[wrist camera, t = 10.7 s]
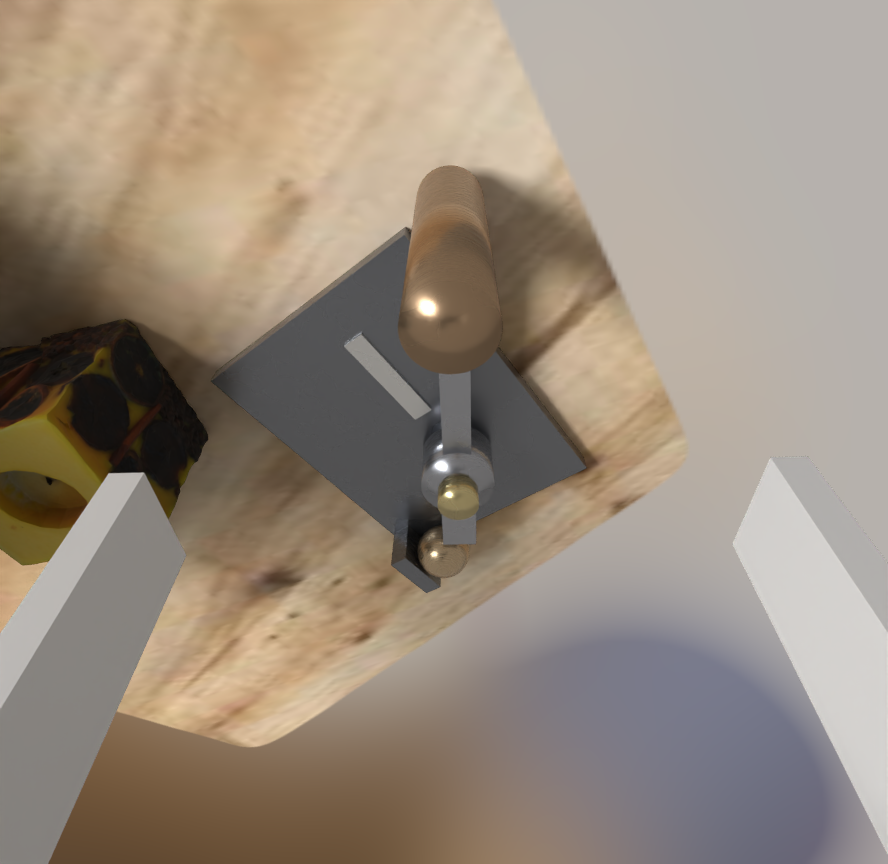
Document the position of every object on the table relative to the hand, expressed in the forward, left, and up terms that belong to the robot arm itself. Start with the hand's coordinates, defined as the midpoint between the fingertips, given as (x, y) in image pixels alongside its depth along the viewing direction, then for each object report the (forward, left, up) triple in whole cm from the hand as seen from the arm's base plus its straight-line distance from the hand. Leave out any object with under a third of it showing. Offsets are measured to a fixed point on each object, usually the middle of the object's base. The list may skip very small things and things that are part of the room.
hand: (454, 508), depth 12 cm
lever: (+9, -6, -21) cm, 24 cm away
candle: (-3, -26, -23) cm, 35 cm away
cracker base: (+11, -10, -23) cm, 27 cm away
